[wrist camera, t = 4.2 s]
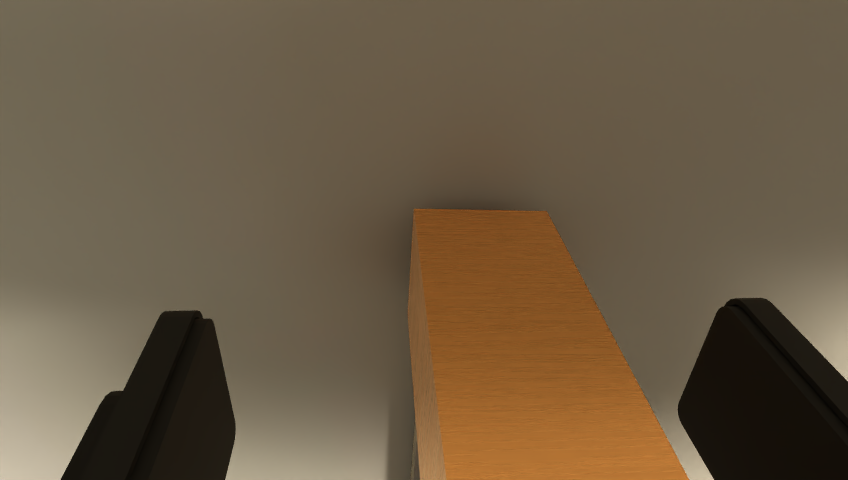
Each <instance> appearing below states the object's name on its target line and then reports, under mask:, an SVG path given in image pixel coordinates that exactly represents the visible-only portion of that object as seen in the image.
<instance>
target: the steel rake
mask: <svg viewBox="0 0 848 480" xmlns="http://www.w3.org/2000/svg"><path fill="white" fill-rule="evenodd" d="M408 326H409V339H410V352H411V366H412V379H413V392H414V405H415V427H414V439H413V452H412V464H411V477H410V480H689V479H688V477H687V475H686V473H685V471H684V469H683V467H682V466H681V464H680V462H679V460H678V458H677V456H676V454H675V452H674V450H673V449H672V447H671V445H670V443H669V441H668V439H667V437H666V435H665V433H664V432H663V430H662V428H661V426H660V424H659V422H658V420H657V418H656V416H655V415H654V413H653V411H652V409H651V407H650V405H649V403H648V401H647V399H646V398H645V396H644V394H643V392H642V390H641V388H640V386H639V384H638V382H637V381H636V379H635V377H634V375H633V373H632V371H631V369H630V367H629V365H628V364H627V362H626V360H625V358H624V356H623V354H622V352H621V350H620V349H619V347H618V345H617V343H616V341H615V339H614V337H613V335H612V333H611V332H610V330H609V328H608V326H607V324H606V322H605V320H604V318H603V316H602V315H601V313H600V311H599V309H598V307H597V305H596V303H595V301H594V299H593V298H592V296H591V294H590V292H589V290H588V288H587V286H586V284H585V282H584V281H583V279H582V277H581V275H580V273H579V271H578V269H577V267H576V265H575V264H574V262H573V260H572V258H571V256H570V254H569V252H568V250H567V248H566V247H565V245H564V243H563V241H562V239H561V237H560V235H559V233H558V232H557V230H556V228H555V226H554V224H553V222H552V220H551V218H550V216H549V215H548V213H547V211H513V210H456V209H414V214H413V231H412V248H411V265H410V282H409V298H408Z"/></svg>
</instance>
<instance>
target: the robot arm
mask: <svg viewBox="0 0 848 480" xmlns="http://www.w3.org/2000/svg"><path fill="white" fill-rule="evenodd" d="M678 415H679V419H680V421H681V423H682V425H683V427H684V429H685V430H686V432H687V434H688V436H689V437H690V439H691V441H692V442H693V444H694V446H695V448H696V449H697V451H698V453H699V454H700V456H701V458H702V460H703V461H704V463H705V465H706V467H707V468H708V470H709V472H710V473H711V475H712V477H713V479H714V480H848V381H847V380H846V379H845V378H844V377H843V376H842V375H841V374H840V373H839V372H838V371H837V370H836V369H835V368H834V367H833V366H832V365H831V364H830V363H829V362H828V361H827V360H826V359H825V358H824V357H823V356H822V354H821V353H820V352H819V351H818V350H817V349H816V348H815V347H814V346H813V345H812V344H811V343H810V342H809V341H808V340H807V339H806V338H805V337H804V336H803V335H802V334H801V333H800V332H799V331H798V330H797V329H796V328H795V327H794V326H793V325H792V323H791V322H790V321H789V320H788V319H787V318H786V317H785V316H784V315H783V314H782V313H781V312H780V311H779V310H778V309H777V308H776V307H775V306H774V305H773V304H772V303H771V302H770V301H768V300H767V299H764V298H735V299H730V300H729V301H728V302H727V303H726V304H725V306H724V307H721V308H720V309H719V310H718V311H717V313H716V316H715V318H714V320H713V323H712V325H711V327H710V330H709V332H708V335H707V337H706V339H705V342H704V344H703V346H702V349H701V351H700V354H699V356H698V358H697V361H696V363H695V365H694V368H693V370H692V372H691V375H690V377H689V380H688V382H687V384H686V387H685V389H684V391H683V394H682V396H681V399H680V401H679V404H678ZM235 429H236V428H235V419H234V414H233V409H232V405H231V400H230V396H229V391H228V386H227V382H226V377H225V372H224V368H223V363H222V359H221V354H220V349H219V345H218V340H217V336H216V331H215V326H214V323H213V320H212V319H203V317H202V314H201V312H200V311H164V312H163V313H162V314H161V315H160V317H159V319H158V321H157V323H156V325H155V327H154V329H153V331H152V333H151V335H150V337H149V339H148V341H147V343H146V345H145V347H144V349H143V351H142V353H141V355H140V357H139V359H138V362H137V364H136V366H135V368H134V370H133V372H132V374H131V376H130V378H129V380H128V382H127V384H126V386H125V388H124V390H123V391H113V392H110V393H109V394H108V395H106V396H105V398H104V399H103V401H102V402H101V404H100V405H99V407H98V409H97V411H96V413H95V415H94V417H93V419H92V421H91V422H90V424H89V426H88V428H87V430H86V432H85V434H84V436H83V438H82V440H81V442H80V444H79V445H78V447H77V449H76V451H75V453H74V455H73V457H72V459H71V461H70V463H69V465H68V467H67V468H66V470H65V472H64V474H63V476H62V478H61V480H225V478H226V474H227V470H228V466H229V462H230V457H231V453H232V449H233V445H234V440H235Z"/></svg>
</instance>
